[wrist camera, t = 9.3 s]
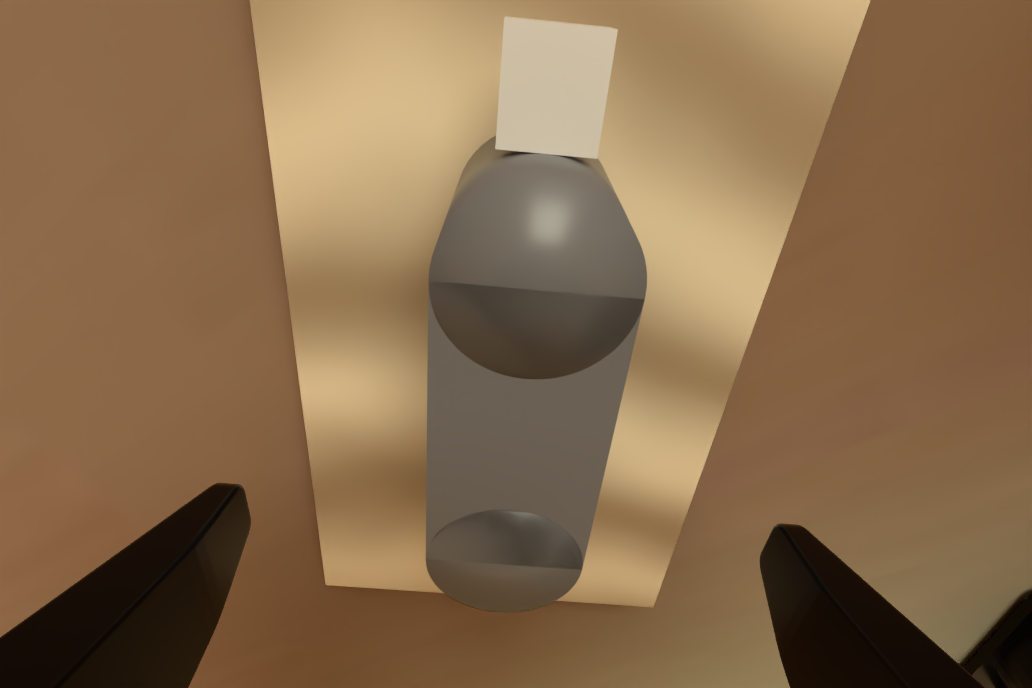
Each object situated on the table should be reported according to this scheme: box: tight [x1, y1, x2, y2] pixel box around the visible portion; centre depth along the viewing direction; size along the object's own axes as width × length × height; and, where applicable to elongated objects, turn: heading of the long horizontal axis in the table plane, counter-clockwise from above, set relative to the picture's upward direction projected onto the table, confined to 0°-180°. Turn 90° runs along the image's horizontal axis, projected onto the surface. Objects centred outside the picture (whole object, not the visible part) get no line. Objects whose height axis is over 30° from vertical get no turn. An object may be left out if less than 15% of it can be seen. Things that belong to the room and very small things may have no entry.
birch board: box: [250, 0, 870, 607], centre depth 15 cm, size 22×12×1 cm, turn 175°
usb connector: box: [426, 16, 647, 612], centre depth 13 cm, size 13×4×4 cm, turn 175°
